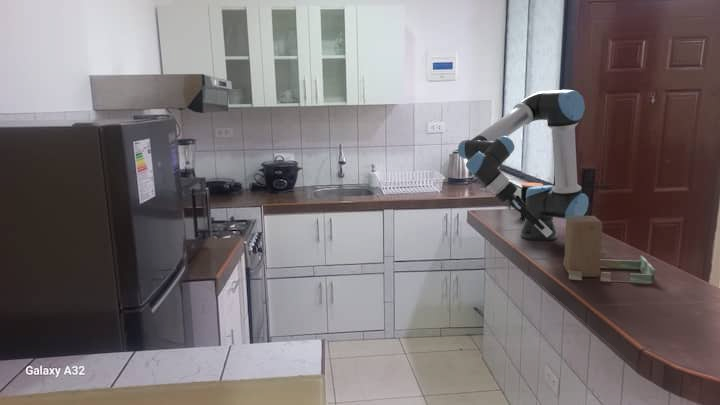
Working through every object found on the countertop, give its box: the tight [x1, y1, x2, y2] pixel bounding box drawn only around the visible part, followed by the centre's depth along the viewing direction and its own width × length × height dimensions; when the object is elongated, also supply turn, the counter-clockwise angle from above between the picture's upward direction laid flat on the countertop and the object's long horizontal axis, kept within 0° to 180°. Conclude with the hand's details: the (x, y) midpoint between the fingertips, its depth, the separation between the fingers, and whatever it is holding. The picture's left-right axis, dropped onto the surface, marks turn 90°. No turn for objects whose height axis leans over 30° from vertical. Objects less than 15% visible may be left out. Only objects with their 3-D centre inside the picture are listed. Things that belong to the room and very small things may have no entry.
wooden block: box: [563, 215, 603, 278], centre depth 171 cm, size 10×10×20 cm
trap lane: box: [568, 255, 656, 285], centre depth 171 cm, size 15×26×5 cm, turn 74°
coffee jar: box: [520, 182, 544, 220], centre depth 252 cm, size 11×11×18 cm
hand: (549, 234), depth 173 cm, fingers closed
